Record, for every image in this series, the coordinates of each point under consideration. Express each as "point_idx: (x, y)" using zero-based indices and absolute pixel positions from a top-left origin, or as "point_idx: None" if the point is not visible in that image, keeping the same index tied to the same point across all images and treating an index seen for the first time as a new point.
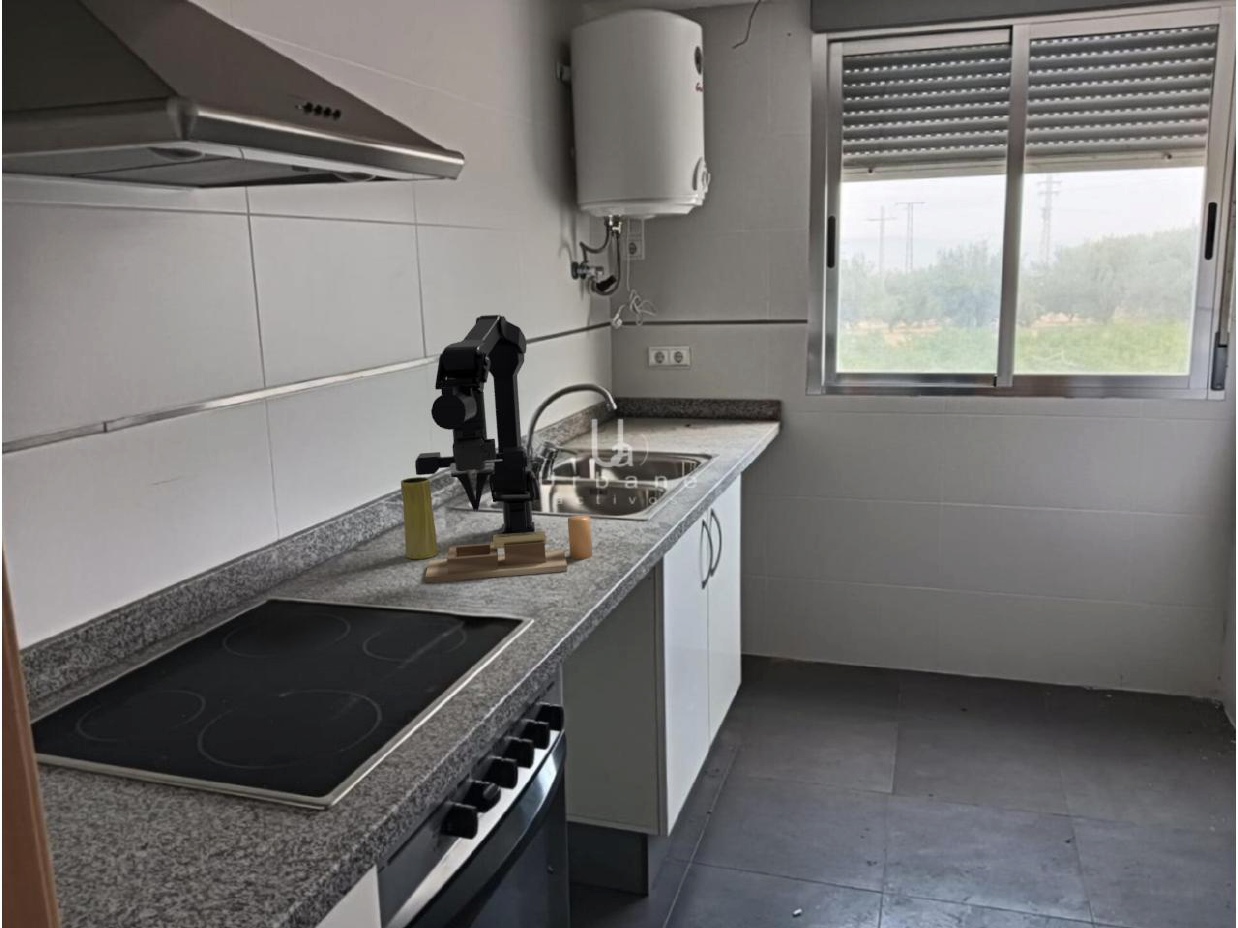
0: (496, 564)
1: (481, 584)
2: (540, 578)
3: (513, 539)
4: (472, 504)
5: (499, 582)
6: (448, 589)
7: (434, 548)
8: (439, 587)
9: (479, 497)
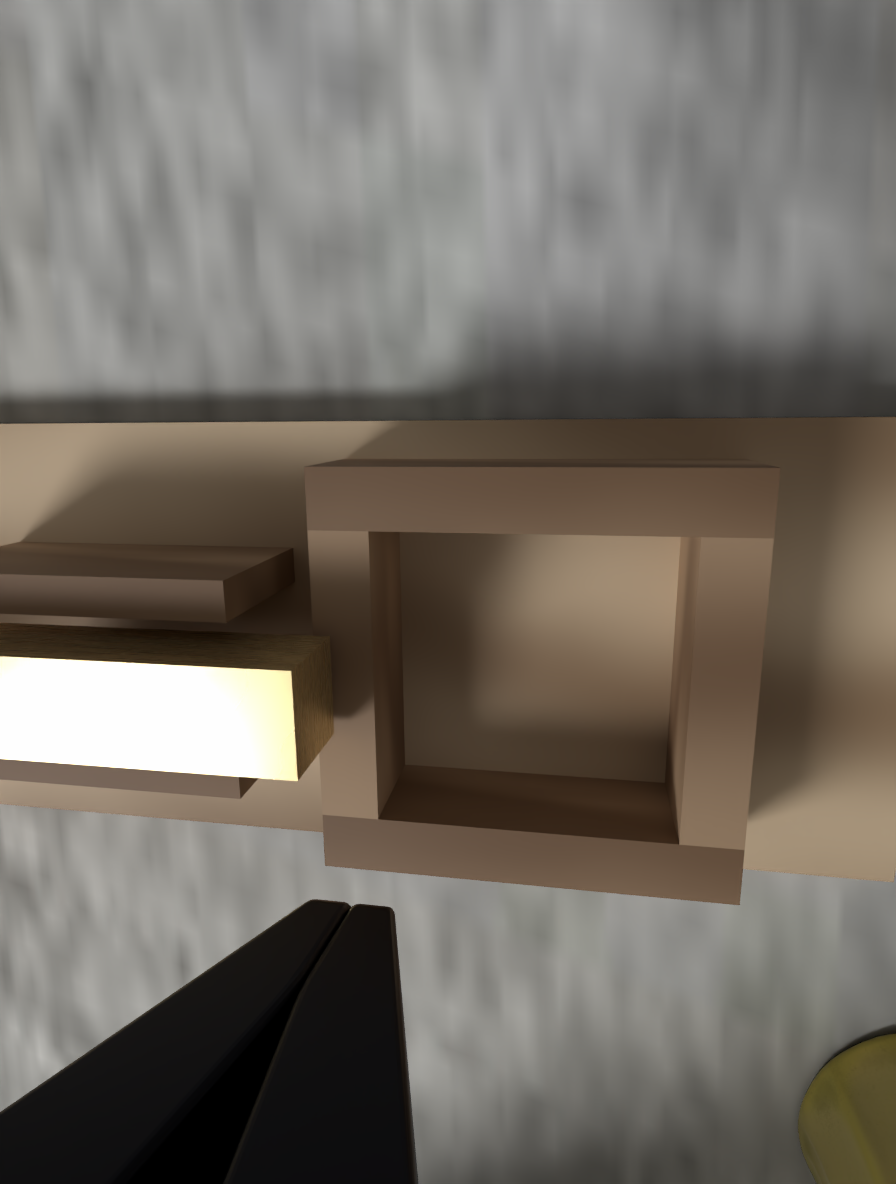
0: (337, 461)
1: (474, 254)
2: (62, 300)
3: (121, 651)
4: (373, 963)
5: (340, 274)
6: (744, 176)
7: (846, 1116)
8: (821, 254)
9: (139, 1041)
